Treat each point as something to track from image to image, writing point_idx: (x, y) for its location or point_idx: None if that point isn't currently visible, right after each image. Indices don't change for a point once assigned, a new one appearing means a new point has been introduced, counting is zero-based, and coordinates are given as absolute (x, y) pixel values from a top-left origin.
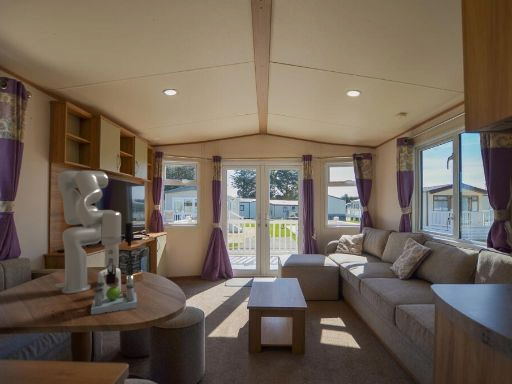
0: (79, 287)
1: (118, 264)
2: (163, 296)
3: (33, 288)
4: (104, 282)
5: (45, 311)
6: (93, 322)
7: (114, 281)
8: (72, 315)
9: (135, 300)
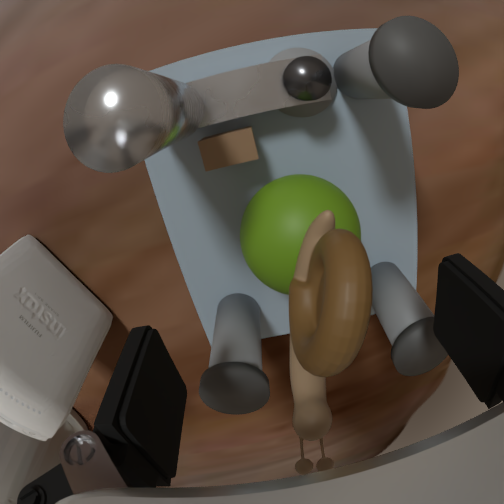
0: None
1: (499, 461)
2: None
3: None
4: (69, 362)
5: (277, 442)
6: (490, 241)
7: (465, 264)
8: (369, 357)
9: (355, 38)
